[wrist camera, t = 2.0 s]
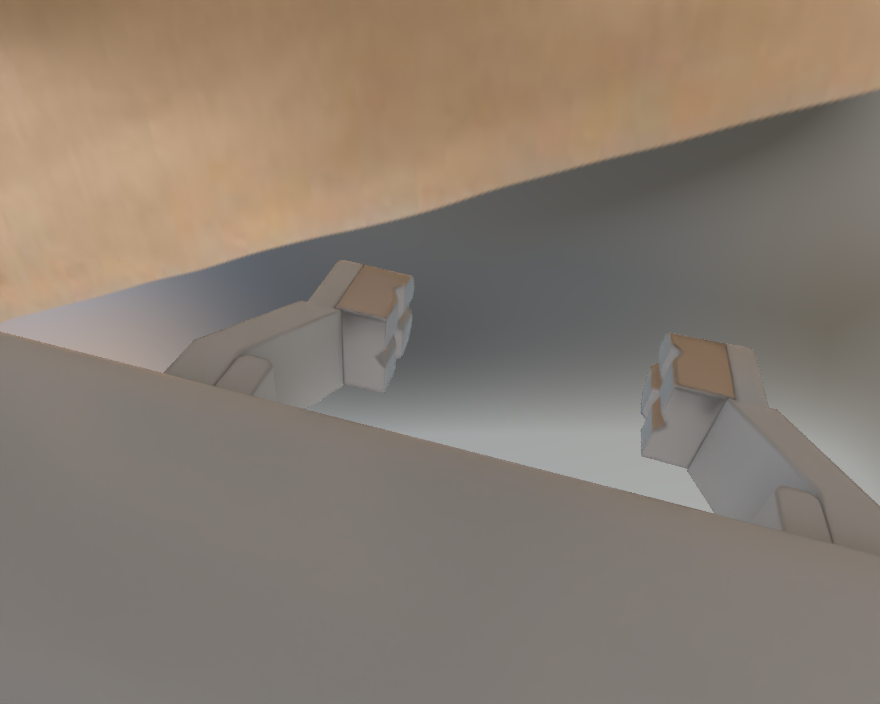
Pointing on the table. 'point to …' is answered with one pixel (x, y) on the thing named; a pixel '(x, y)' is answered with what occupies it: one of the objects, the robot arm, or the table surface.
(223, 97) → the table surface
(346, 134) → the table surface
